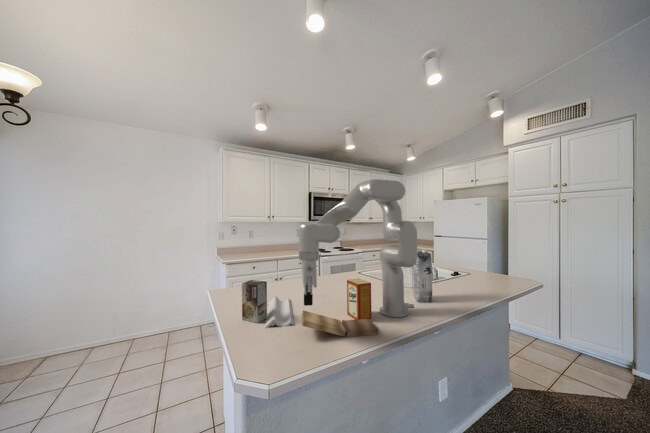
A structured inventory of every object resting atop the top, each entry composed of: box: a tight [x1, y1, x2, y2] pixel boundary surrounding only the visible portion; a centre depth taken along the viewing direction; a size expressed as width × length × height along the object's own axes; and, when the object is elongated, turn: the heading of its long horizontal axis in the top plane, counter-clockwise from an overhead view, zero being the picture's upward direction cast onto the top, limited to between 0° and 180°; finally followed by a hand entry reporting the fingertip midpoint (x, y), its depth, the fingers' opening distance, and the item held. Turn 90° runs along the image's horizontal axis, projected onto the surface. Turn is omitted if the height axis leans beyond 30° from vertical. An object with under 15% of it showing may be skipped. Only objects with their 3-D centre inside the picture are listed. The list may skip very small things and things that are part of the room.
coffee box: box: [241, 279, 268, 324], centre depth 105 cm, size 9×6×16 cm
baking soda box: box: [346, 278, 373, 320], centre depth 107 cm, size 10×6×16 cm
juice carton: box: [411, 249, 433, 303], centre depth 129 cm, size 9×10×27 cm
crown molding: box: [264, 296, 295, 328], centre depth 113 cm, size 31×12×4 cm, turn 11°
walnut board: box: [341, 319, 379, 338], centre depth 93 cm, size 12×10×2 cm
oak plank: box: [301, 310, 346, 337], centre depth 91 cm, size 16×10×2 cm, turn 97°
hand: (308, 304), depth 91 cm, fingers closed
